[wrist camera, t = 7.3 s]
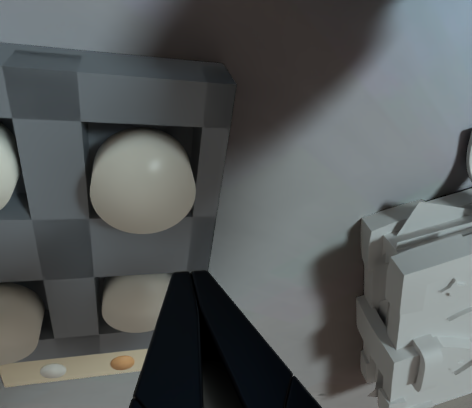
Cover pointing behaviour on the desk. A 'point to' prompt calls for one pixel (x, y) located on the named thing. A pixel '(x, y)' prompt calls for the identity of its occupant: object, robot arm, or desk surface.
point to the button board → (80, 173)
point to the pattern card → (72, 367)
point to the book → (418, 300)
